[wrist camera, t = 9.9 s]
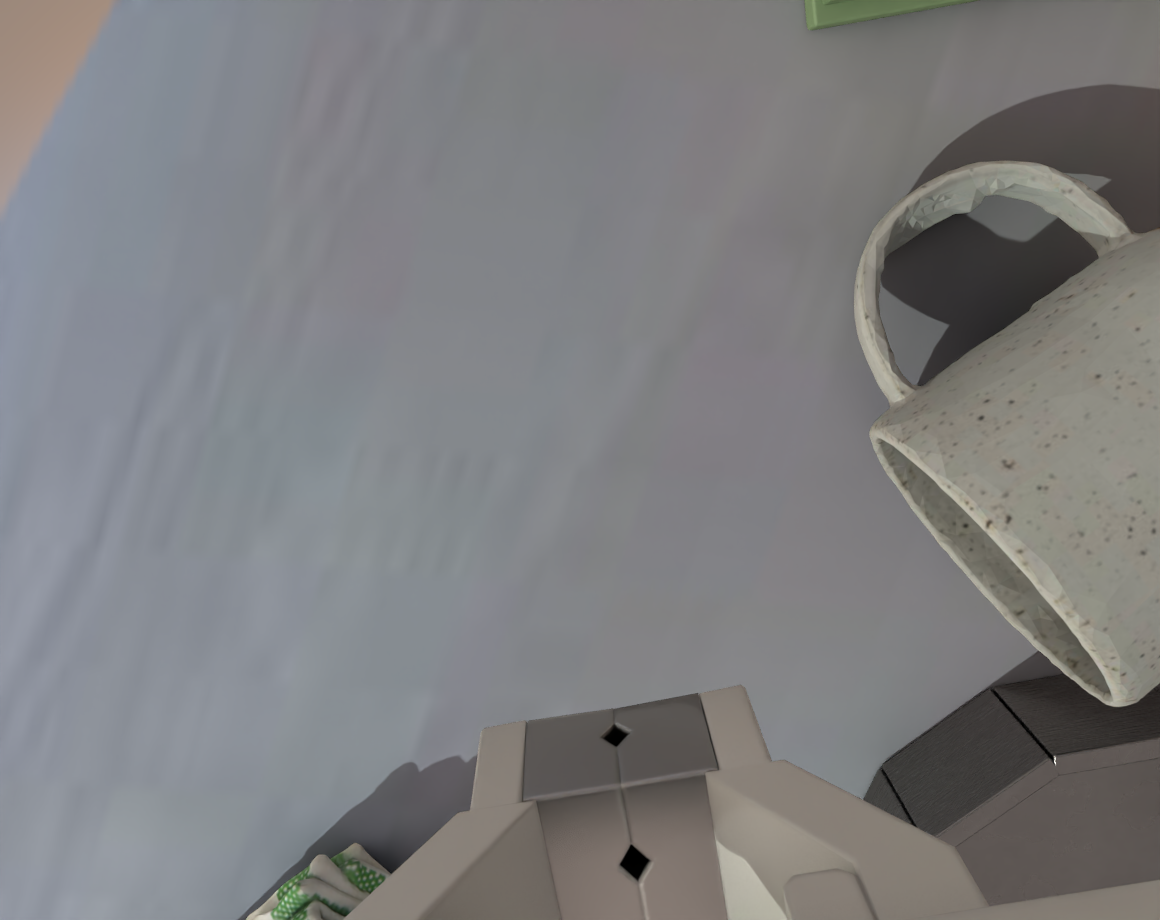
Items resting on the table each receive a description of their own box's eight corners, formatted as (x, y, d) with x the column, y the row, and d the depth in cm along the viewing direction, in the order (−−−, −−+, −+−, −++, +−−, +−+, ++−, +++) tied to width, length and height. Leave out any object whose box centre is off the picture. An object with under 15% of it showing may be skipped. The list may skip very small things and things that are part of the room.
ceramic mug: (1265, 418, 25) (1560, 512, 18) (998, 618, 27) (1172, 785, 19) (1028, 77, 23) (1255, 25, 16) (749, 313, 24) (836, 368, 17)
